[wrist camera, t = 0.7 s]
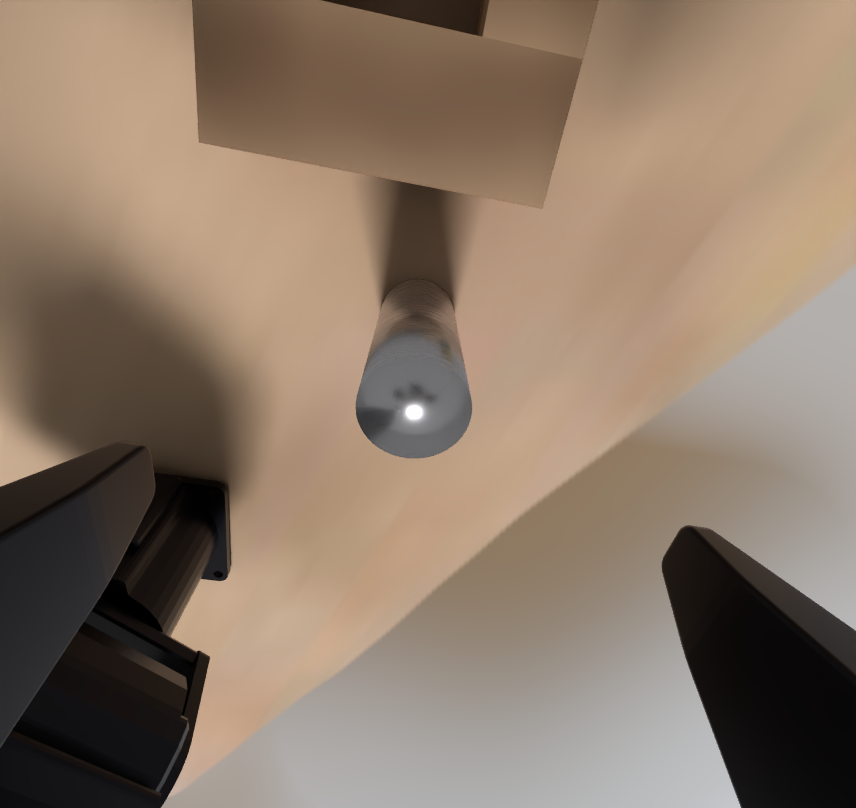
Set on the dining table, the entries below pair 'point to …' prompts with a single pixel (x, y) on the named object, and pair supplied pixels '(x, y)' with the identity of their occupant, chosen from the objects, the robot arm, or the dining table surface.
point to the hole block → (394, 90)
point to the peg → (415, 375)
